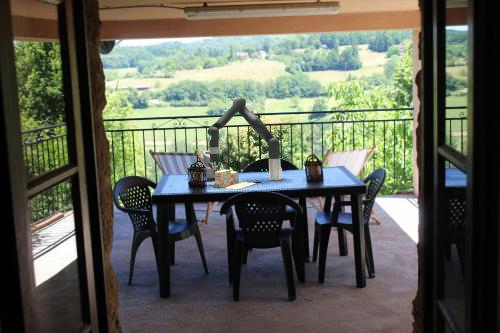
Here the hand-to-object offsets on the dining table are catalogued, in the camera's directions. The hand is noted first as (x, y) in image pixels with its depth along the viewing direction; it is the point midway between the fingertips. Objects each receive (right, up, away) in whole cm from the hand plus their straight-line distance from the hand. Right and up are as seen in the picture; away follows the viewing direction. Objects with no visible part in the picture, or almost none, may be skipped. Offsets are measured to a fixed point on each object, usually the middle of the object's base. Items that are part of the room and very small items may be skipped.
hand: (215, 174), depth 540 cm
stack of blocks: (+9, -9, -3) cm, 13 cm away
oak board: (+20, -9, -9) cm, 23 cm away
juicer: (-10, -5, +29) cm, 31 cm away
